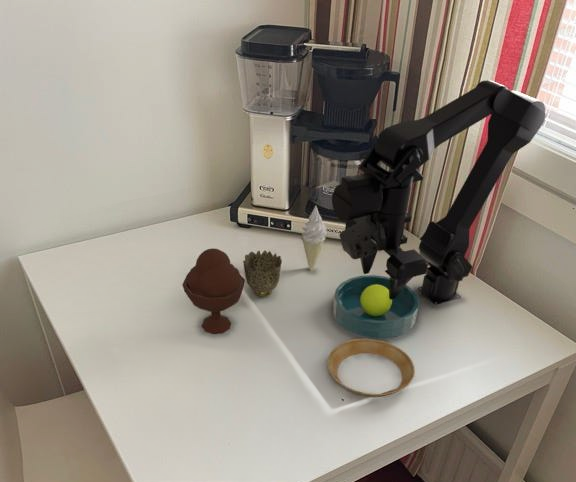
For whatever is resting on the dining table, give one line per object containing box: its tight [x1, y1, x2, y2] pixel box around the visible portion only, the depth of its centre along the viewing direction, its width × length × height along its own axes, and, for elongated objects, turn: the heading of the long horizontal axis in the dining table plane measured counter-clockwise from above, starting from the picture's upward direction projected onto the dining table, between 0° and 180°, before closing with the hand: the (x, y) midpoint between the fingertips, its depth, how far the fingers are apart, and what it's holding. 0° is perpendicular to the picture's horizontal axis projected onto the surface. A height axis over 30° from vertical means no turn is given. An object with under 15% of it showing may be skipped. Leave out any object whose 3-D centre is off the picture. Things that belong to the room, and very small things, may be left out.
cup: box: [242, 250, 283, 298], centre depth 120 cm, size 8×7×8 cm
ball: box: [360, 284, 392, 316], centre depth 116 cm, size 6×6×6 cm
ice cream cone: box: [300, 205, 327, 271], centre depth 125 cm, size 5×5×15 cm
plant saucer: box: [327, 338, 416, 398], centre depth 104 cm, size 15×15×3 cm
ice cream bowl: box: [181, 247, 246, 335], centre depth 110 cm, size 11×11×15 cm
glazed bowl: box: [332, 274, 420, 340], centre depth 117 cm, size 16×16×4 cm
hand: (378, 285), depth 114 cm, fingers open, 9 cm apart
